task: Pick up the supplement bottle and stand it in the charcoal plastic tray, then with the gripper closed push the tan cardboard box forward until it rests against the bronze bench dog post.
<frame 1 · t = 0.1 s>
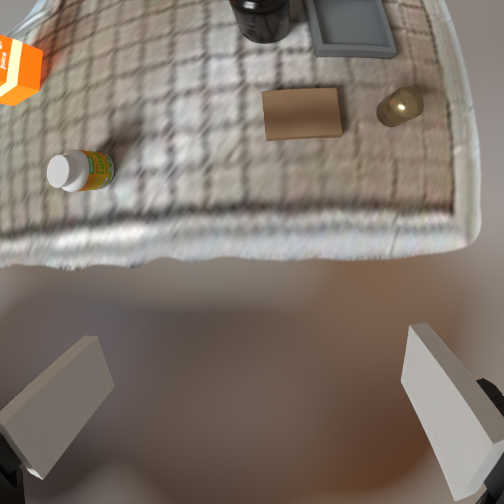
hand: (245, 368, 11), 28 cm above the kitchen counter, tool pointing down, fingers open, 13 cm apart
tan cardboard box: (300, 116, 35), on the kitchen counter
bench dog: (389, 114, 33), on the kitchen counter
supplement bottle 2: (100, 170, 39), on the kitchen counter
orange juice: (28, 78, 36), on the kitchen counter
supplement bottle: (264, 26, 32), on the kitchen counter
tray: (347, 25, 31), on the kitchen counter
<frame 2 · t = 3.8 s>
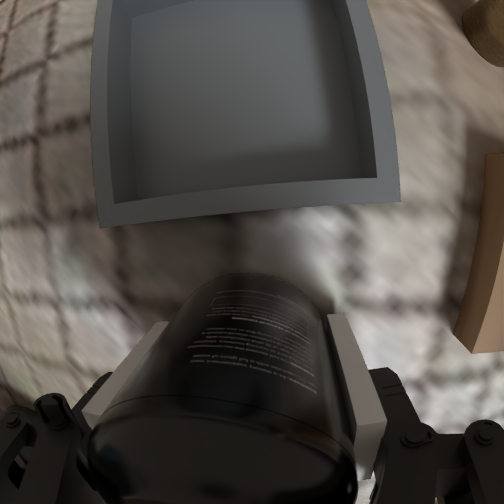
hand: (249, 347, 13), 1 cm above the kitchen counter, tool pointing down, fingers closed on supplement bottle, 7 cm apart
bench dog: (488, 37, 9), on the kitchen counter
supplement bottle: (251, 339, 14), on the kitchen counter, touching gripper
tray: (235, 80, 11), on the kitchen counter
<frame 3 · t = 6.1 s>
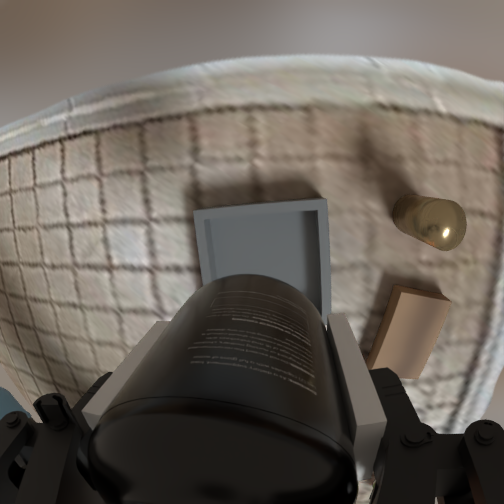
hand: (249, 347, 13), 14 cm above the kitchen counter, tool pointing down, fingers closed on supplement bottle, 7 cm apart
tan cardboard box: (403, 328, 28), on the kitchen counter
bench dog: (410, 214, 25), on the kitchen counter
supplement bottle: (251, 339, 14), point 14 cm above the kitchen counter, touching gripper
tray: (266, 262, 27), on the kitchen counter
when the fingers open (3 cm above the kitchen counter, at t = 8.4 s): supplement bottle drops 2 cm, resting on tray.
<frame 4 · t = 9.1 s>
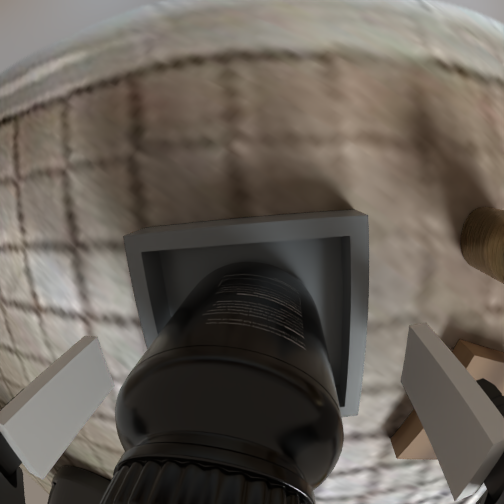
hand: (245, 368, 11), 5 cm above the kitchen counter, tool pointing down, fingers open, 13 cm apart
tan cardboard box: (450, 396, 16), on the kitchen counter
bench dog: (483, 238, 13), on the kitchen counter
supplement bottle: (252, 321, 16), resting on tray
tray: (255, 318, 16), on the kitchen counter
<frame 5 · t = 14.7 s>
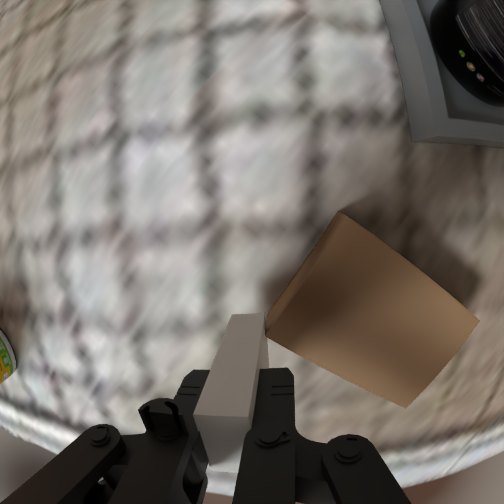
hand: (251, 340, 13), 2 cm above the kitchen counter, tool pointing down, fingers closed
tan cardboard box: (372, 309, 14), on the kitchen counter, touching gripper
supplement bottle 2: (0, 345, 19), on the kitchen counter
supplement bottle: (474, 53, 10), resting on tray
tray: (473, 56, 10), on the kitchen counter
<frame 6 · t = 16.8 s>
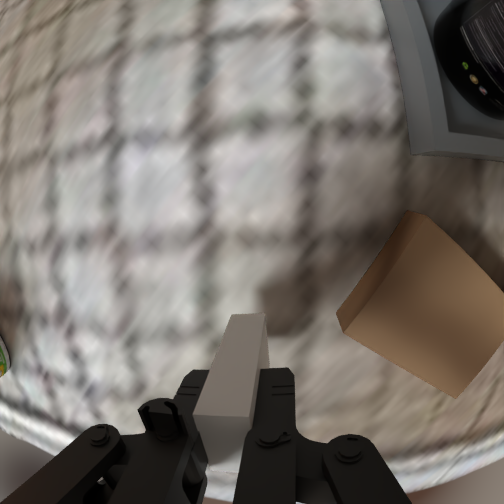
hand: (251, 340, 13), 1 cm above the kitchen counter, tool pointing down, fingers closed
tan cardboard box: (429, 305, 14), on the kitchen counter
supplement bottle: (478, 64, 10), resting on tray
tray: (476, 68, 10), on the kitchen counter
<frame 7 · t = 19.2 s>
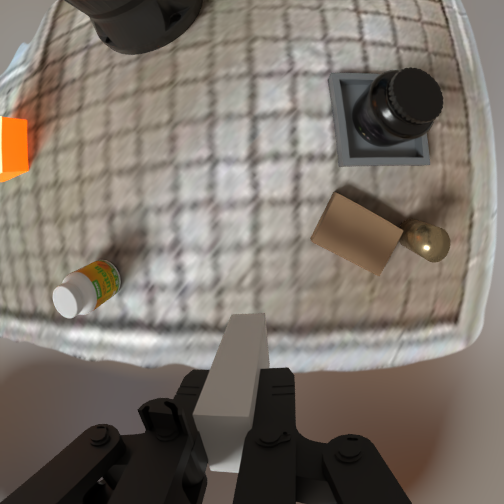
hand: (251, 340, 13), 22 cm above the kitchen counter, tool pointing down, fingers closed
tan cardboard box: (354, 232, 34), on the kitchen counter
bench dog: (410, 233, 33), on the kitchen counter
supplement bottle 2: (106, 277, 39), on the kitchen counter
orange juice: (15, 151, 36), on the kitchen counter
supplement bottle: (377, 120, 30), resting on tray
tray: (377, 121, 31), on the kitchen counter
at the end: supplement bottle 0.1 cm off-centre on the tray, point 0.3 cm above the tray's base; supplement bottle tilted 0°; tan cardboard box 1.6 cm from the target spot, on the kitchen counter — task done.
